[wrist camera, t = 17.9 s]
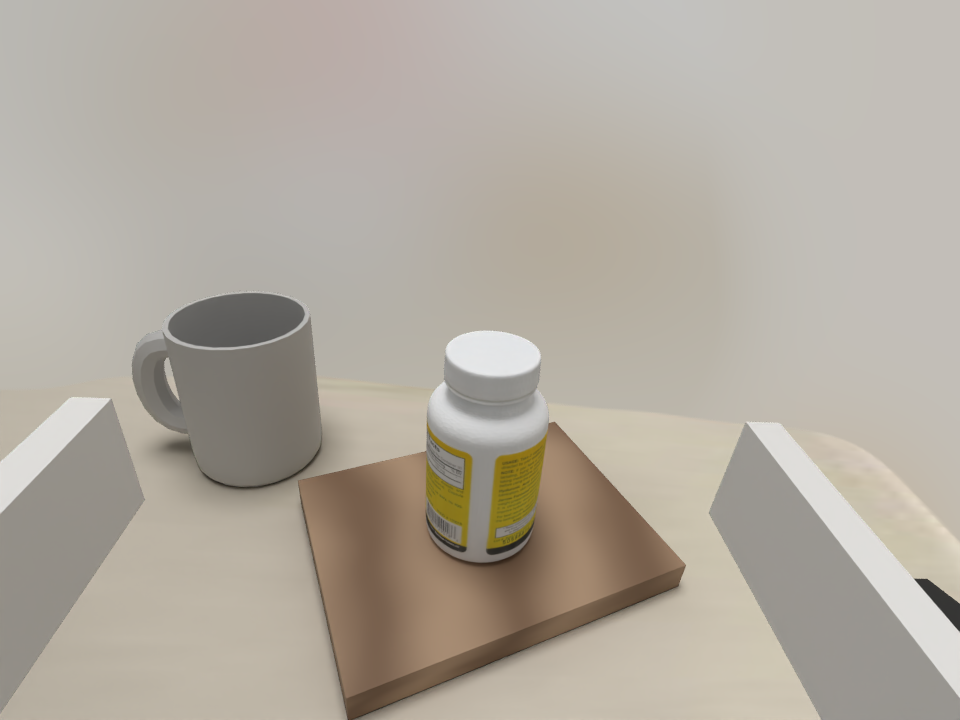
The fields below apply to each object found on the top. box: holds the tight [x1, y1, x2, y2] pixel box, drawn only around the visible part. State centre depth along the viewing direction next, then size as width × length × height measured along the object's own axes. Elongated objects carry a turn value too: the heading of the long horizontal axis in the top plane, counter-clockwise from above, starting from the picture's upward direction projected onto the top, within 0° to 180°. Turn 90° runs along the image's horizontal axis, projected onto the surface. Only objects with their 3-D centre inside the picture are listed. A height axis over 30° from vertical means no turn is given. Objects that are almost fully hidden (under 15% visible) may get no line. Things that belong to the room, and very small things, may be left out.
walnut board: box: [298, 422, 686, 720], centre depth 27 cm, size 16×12×2 cm
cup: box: [132, 291, 322, 487], centre depth 31 cm, size 7×10×9 cm
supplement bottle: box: [426, 331, 549, 563], centre depth 24 cm, size 5×5×10 cm
